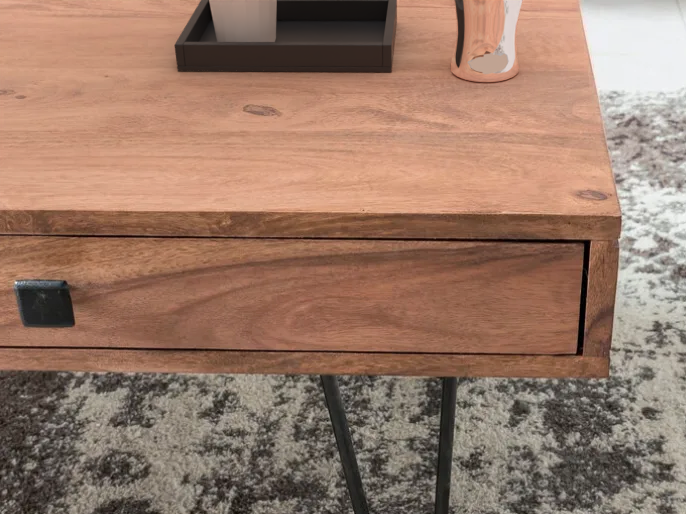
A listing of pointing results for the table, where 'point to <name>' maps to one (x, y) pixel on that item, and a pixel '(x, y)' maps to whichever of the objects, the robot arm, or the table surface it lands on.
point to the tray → (298, 39)
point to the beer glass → (486, 40)
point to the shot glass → (244, 20)
